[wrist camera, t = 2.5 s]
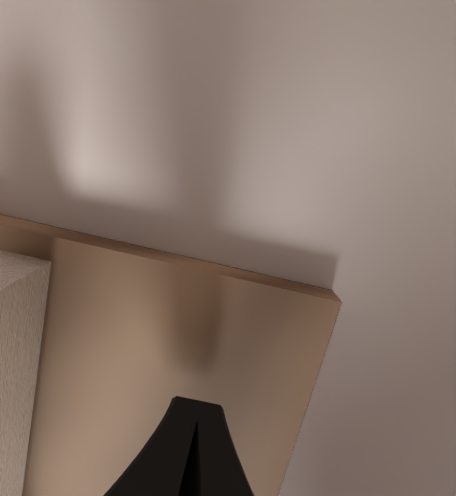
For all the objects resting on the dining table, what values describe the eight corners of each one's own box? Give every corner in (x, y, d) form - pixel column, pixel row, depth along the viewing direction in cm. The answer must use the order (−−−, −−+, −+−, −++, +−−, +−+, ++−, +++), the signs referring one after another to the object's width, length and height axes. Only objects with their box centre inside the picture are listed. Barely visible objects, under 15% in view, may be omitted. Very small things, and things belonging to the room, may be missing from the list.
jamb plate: (332, 290, 12) (341, 302, 11) (242, 568, 14) (243, 598, 13) (-251, 157, 11) (-299, 156, 10) (-228, 480, 13) (-263, 505, 12)
